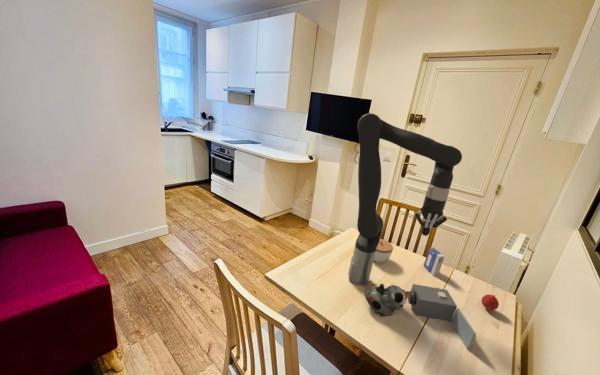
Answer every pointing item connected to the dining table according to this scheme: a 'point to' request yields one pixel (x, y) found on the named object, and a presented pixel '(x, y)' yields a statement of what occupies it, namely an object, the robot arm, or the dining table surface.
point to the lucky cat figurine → (386, 299)
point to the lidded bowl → (383, 251)
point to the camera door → (463, 328)
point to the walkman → (433, 261)
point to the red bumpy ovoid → (490, 302)
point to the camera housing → (431, 302)
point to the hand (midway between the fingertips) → (424, 234)
